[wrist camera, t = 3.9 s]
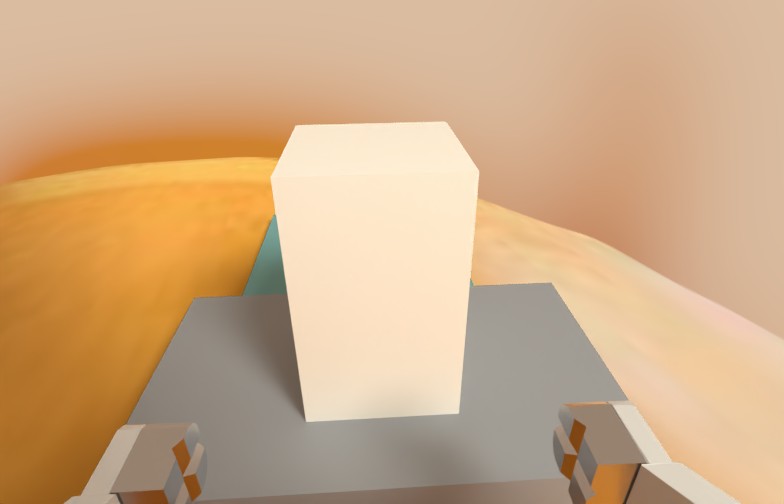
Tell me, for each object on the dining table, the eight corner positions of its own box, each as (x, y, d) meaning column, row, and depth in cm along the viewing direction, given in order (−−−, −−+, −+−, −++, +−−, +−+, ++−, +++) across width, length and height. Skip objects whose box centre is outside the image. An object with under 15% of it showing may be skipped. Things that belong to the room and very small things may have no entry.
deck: (99, 542, 16) (80, 507, 15) (202, 326, 27) (194, 297, 26) (659, 505, 17) (675, 471, 16) (545, 311, 28) (551, 282, 27)
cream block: (305, 422, 18) (270, 177, 13) (318, 325, 23) (296, 125, 18) (458, 413, 18) (479, 171, 14) (437, 320, 24) (446, 121, 19)
